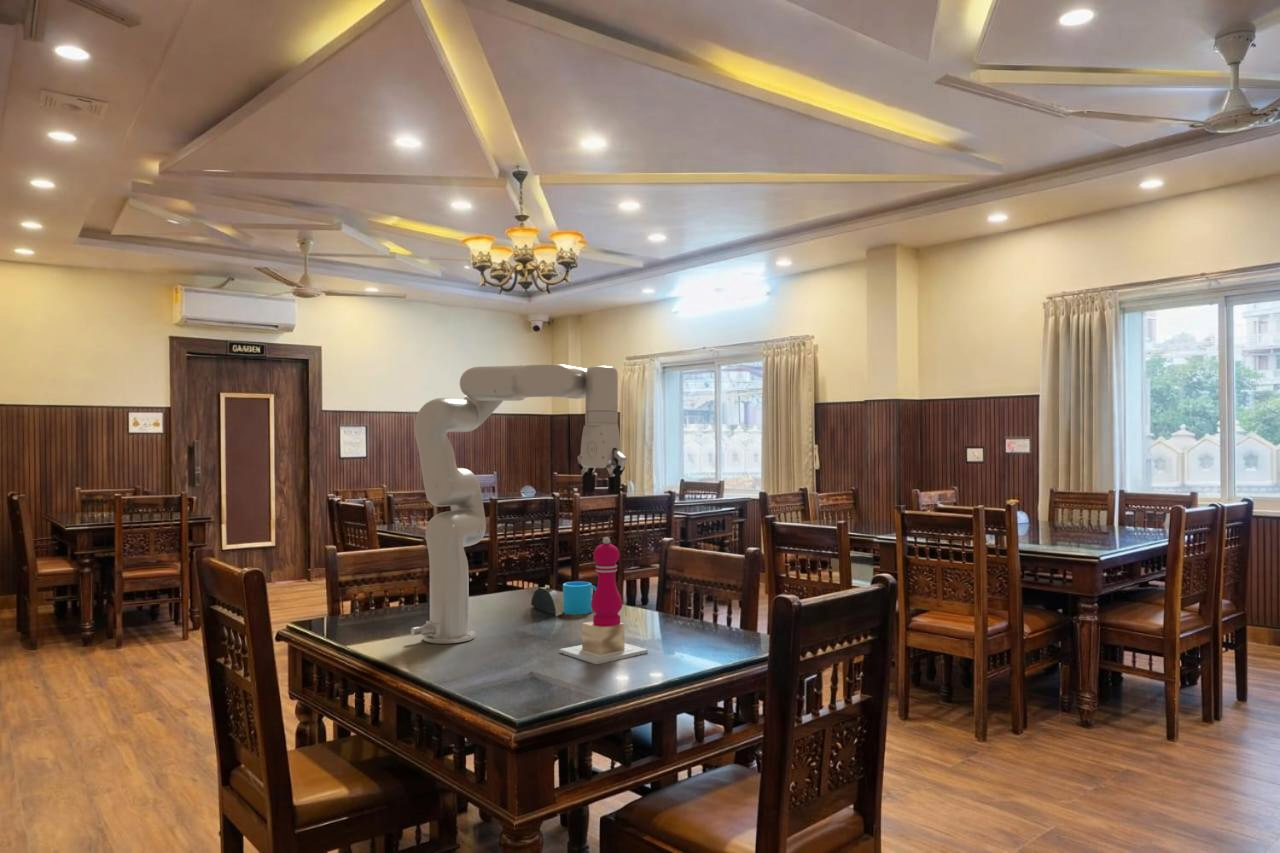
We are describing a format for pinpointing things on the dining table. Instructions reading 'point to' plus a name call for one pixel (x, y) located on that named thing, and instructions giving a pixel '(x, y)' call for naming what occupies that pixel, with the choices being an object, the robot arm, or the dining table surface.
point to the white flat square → (597, 658)
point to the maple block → (603, 638)
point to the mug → (577, 597)
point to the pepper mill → (606, 586)
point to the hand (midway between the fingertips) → (601, 492)
